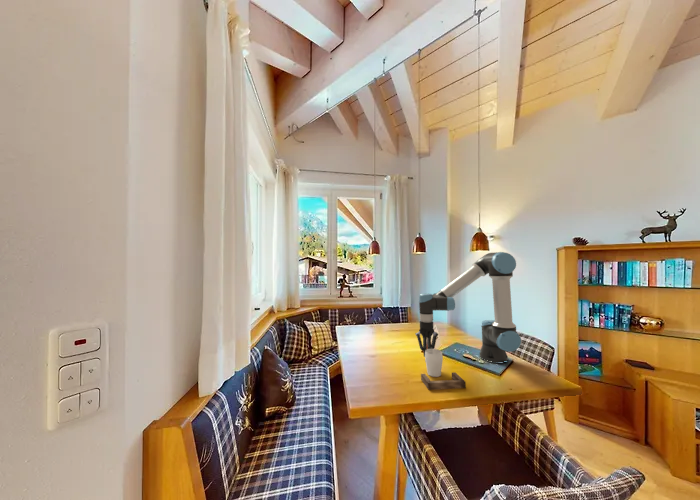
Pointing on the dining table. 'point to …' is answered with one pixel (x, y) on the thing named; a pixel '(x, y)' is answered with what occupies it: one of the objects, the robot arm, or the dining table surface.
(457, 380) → the walnut pocket
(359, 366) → the dining table surface
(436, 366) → the cup
